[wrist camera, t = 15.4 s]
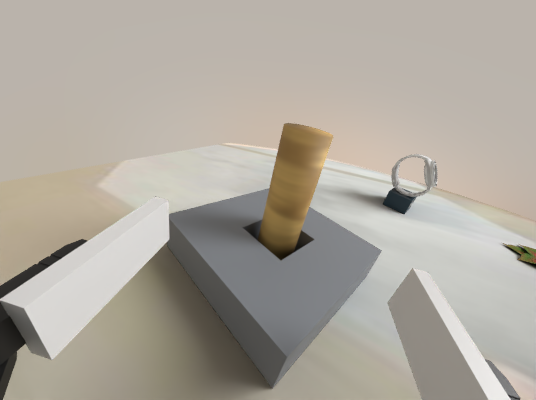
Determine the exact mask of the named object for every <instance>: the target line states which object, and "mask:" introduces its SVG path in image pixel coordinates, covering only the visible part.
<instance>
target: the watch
mask: <svg viewBox="0 0 536 400" xmlns="http://www.w3.org/2000/svg"><path fill="white" fill-rule="evenodd" d="M409 157H419V158H422V159H424V160H425V167H424V176H425V183H426V185H427V186H428V187H427V190H425V191H423V192H419V193H412V192H410V191H407V190H405V189H402V188H401V187H399V179H398V170H399V166H400V165H399V164H400V162H401V161H403V160H404V159H406V158H409ZM392 184H393V187H395V188H393V189H392V190H390V191H389V193H388V195H387V197H386V199H385V201H384V202H383V205H386V206H388V207H390V208H392V209H394V210H396V211H398V212H400V213H402V214H405V213H406V212H407V210H408V209H409V208H410V207H411V205H412V203H413V202H414V200H415V199H416V197H417V196H420V195H424V194H426V193H427V192H429V191H430V190H431V189H432V187H433V186H434V187H435V186H436V185H437V166H436V162H435V161H431V159H430V158H429V157H427V156H424V155H419V154H415V155H409V156H406V157H404V158H402V159H400V160H399V161H398V162H397V163H396V164H395V166H394V167H393V169H392Z"/></svg>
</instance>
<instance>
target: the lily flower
mask: <svg viewBox="0 0 536 400" xmlns="http://www.w3.org/2000/svg"><path fill="white" fill-rule="evenodd" d="M503 244H504V243H503ZM505 245H506V244H505ZM519 245H520V244H519ZM506 246H508V247H510V248H512V249H513V250H515V251H517V252H518V253H520V254H521V258H519V259H518V260H522V261H526V262H531V263H534V264H536V249H533V248H530V247H526V246H522V245H521V246H522V247H524V249H525V250H526V251H525V250H523V249H521V248H519V247H517V246H513V245H506Z"/></svg>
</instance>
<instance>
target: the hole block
mask: <svg viewBox="0 0 536 400" xmlns="http://www.w3.org/2000/svg"><path fill="white" fill-rule="evenodd" d="M268 192H269V189H265V190H261V191H257V192H254V193H250V194H246V195H242V196H238V197H234V198H230V199H226V200H222V201H218V202H215V203H211V204H207V205H203V206H199V207H195V208H191V209H187V210H183V211H179V212H176V213H172V214H169V240H168V241H167V246H168V247H169V249H170V250H171V251H172V253H173V254H174V256H175V257H176V258H177V260H178V261H179V262H180V264H181V265H182V266H183V268H184V269H185V271H186V272H187V273H188V275H189V276H190V277H191V279H192V280H193V281H194V283H195V284H196V285H197V287H198V288H199V290H200V291H201V292H202V294H203V295H204V296H205V298H206V299H207V300H208V302H209V303H210V305H211V306H212V307H213V309H214V310H215V311H216V313H217V314H218V315H219V317H220V318H221V320H222V321H223V322H224V324H225V325H226V326H227V328H228V329H229V330H230V332H231V333H232V334H233V336H234V337H235V339H236V340H237V341H238V343H239V344H240V345H241V347H242V348H243V349H244V351H245V352H246V354H247V355H248V356H249V358H250V359H251V360H252V362H253V363H254V364H255V366H256V367H257V369H258V370H259V371H260V373H261V374H262V375H263V377H264V378H265V379H266V381H267V382H268V383H269V385H270V386H271V388H272V389H273V387H274V386H275V385H276V384H277V383H278V381H279V380H280V379H281V378H282V377H283V375H284V374H285V373H286V372H287V371H288V370H289V368H290V367H291V366H292V365H293V364H294V362H295V361H296V360H297V359H298V358H299V356H300V355H301V354H302V353H303V352H304V350H305V349H306V348H307V347H308V346H309V344H310V343H311V342H312V341H313V340H314V338H315V337H316V336H317V335H318V334H319V332H320V331H321V330H322V329H323V328H324V326H325V325H326V324H327V323H328V322H329V320H330V319H331V318H332V317H333V316H334V314H335V313H336V312H337V311H338V310H339V309H340V307H341V306H342V305H343V304H344V303H345V301H346V300H347V299H348V298H349V297H350V295H351V294H352V293H353V292H354V291H355V289H356V288H357V287H358V286H359V285H360V283H361V282H362V281H363V280H364V279H365V277H366V276H367V274H368V273H369V271H370V269H371V268H372V266H373V264H374V263H375V261H376V259H377V258H378V256H379V254H380V253H381V251H382V250H380V249H378V248H377V247H375V246H373V245H372V244H370V243H368V242H367V241H365V240H363V239H362V238H360V237H358V236H357V235H355V234H353V233H352V232H350V231H348V230H347V229H345V228H343V227H342V226H340V225H339V224H337V223H335V222H334V221H332V220H330V219H329V218H327V217H325V216H324V215H322V214H320V213H319V212H317V211H315V210H314V209H312V208H310V207H309V209H308V212H307V215H306V218H305V221H304V224H303V226H302V229H301V232H300V235H299V238H298V241H297V244H296V247H295V250H294V253H292V254H291V255H289V256H287V257H286V258H284V259H283V260H280V259H278V258H277V257H276V256H275V255H274V254H273V253H271V252H270V251H269V250H268V249H267V248H266V247H264V246H263V245H262V244H261V243H260V242H259V241H258V236H259V232H260V228H261V223H262V219H263V214H264V210H265V206H266V201H267V197H268Z"/></svg>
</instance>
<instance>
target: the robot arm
mask: <svg viewBox="0 0 536 400" xmlns="http://www.w3.org/2000/svg"><path fill="white" fill-rule="evenodd" d="M168 240H169V200H167V199H163V198H160V197H156V196H155V197H154V198H152V199H151V200H149V201H148V202H146V203H144V204H143V205H141V206H140V207H138V208H137V209H135V210H134V211H132V212H131V213H129V214H128V215H126V216H125V217H123V218H122V219H120V220H119V221H117V222H116V223H114V224H113V225H111V226H110V227H108V228H107V229H105V230H104V231H102V232H101V233H99V234H98V235H96V236H95V237H93V238H92V239H90V240H89V241H87V240H83V239H81V240H79V241H76V242H73V243H71V244H68V245H65V246H64V247H62V248H61V249H59V250H57V251H56V252H54V253H53V254H51V256H50V257H49V256H48V257H46V258H44V259H43V260H41V261H40V262H39V263H38V264H35V265H33V266H32V267H30V268H28V269H27V270H25V271H24V272H22V273H20V274H19V275H17V276H15V277H14V278H12V279H11V280H9V281H7V282H6V283H4V284H3V285H1V286H0V400H3V398H4V395H5V392H6V389H7V386H8V383H9V380H10V377H11V374H12V371H13V368H14V365H15V362H16V359H17V352H16V351H17V350H19V349H20V348H21V347H22V346H23V345H24V344H25V343H26V345H27V346H28V348H29V350H30V351H31V353H33V354H36V355H39V356H42V357H45V358H48V359H50V360H53V359H54V358H55V356H56V355H57V354H58V353H59V352H60V351H61V350H62V349H63V348H64V347H65V346H66V345H67V344H68V343H69V342H70V341H71V340H72V339H73V338H74V337H75V336H76V335H77V334H78V333H79V332H80V331H81V330H82V329H83V328H84V327H85V326H86V325H87V324H88V323H89V322H90V320H91V319H92V318H93V317H94V316H95V315H96V314H97V313H98V312H99V311H100V310H101V309H102V308H103V307H104V306H105V305H106V304H107V303H108V302H109V301H110V300H111V299H112V298H113V297H114V296H115V295H116V294H117V293H118V292H119V291H120V290H121V289H122V288H123V287H124V285H125V284H126V283H127V282H128V281H129V280H130V279H131V278H132V277H133V276H134V275H135V274H136V273H137V272H138V271H139V270H140V269H141V268H142V267H143V266H144V265H145V264H146V263H147V262H148V261H149V260H150V259H151V258H152V257H153V256H154V255H155V254H156V253H157V252H158V250H159V249H160V248H161V247H162V246H163V245H164V244H165V243H166V242H167V241H168ZM388 306H389V309H390V311H391V314H392V317H393V320H394V323H395V325H396V328H397V331H398V334H399V337H400V339H401V342H402V345H403V348H404V350H405V353H406V356H407V359H408V362H409V364H410V367H411V370H412V373H413V376H414V378H415V381H416V384H417V387H418V389H419V392H420V395H421V398H422V400H520V397H519V396H518V394H517V393H516V391H515V390H514V388H513V387H512V385H511V384H510V383H509V381H508V380H507V378H506V377H505V376H504V375H503V374H502V373H501V372H500V371H499V370H498V369H497V368H496V367H495V366H494V364H493V363H492V362H491V361H489V360H486V359H484V358H483V356H482V354H481V353H480V351H479V350H478V348H477V347H476V345H475V344H474V342H473V341H472V339H471V337H470V336H469V334H468V333H467V331H466V330H465V328H464V327H463V325H462V324H461V322H460V320H459V319H458V317H457V316H456V314H455V313H454V311H453V310H452V308H451V307H450V305H449V303H448V302H447V300H446V299H445V297H444V296H443V294H442V293H441V291H440V290H439V288H438V287H437V285H436V283H435V282H434V280H433V279H432V277H431V276H430V274H429V273H428V272H426V271H422V270H418V269H415V268H412V270H411V271H410V272H409V274H408V275H407V277H406V278H405V279H404V281H403V282H402V283H401V285H400V286H399V288H398V289H397V290H396V292H395V293H394V294H393V296H392V297H391V299H390V300H389V301H388Z"/></svg>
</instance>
